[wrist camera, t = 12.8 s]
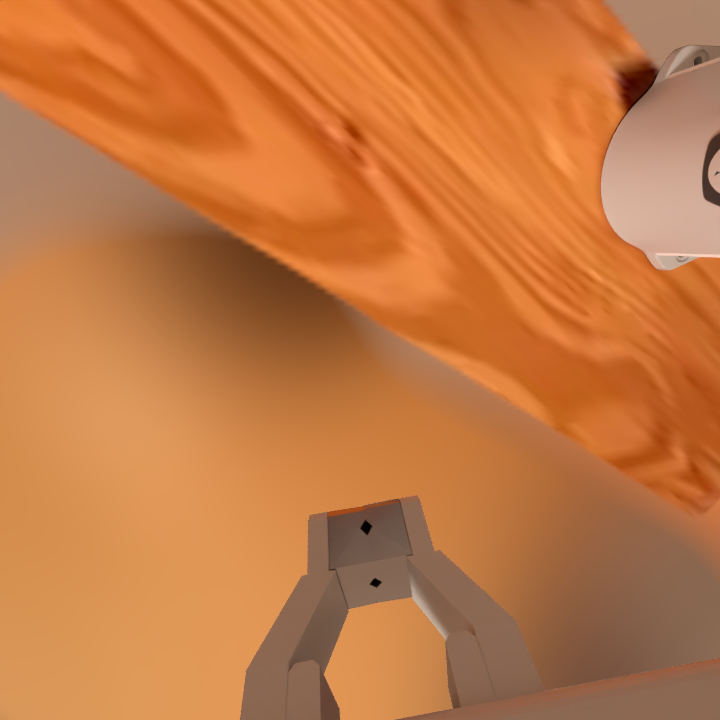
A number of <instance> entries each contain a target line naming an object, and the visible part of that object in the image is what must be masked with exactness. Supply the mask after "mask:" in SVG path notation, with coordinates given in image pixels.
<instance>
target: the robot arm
mask: <svg viewBox="0 0 720 720" xmlns="http://www.w3.org/2000/svg"><path fill="white" fill-rule="evenodd" d="M693 62H694V66H693ZM601 197H602V203H603V208H604V211H605V214H606V217H607V219H608V221H609V223H610V225H611V227H612V228H613V230H614V231H615V232H616V233H617V234H618V235H619V236H620V237H621V238H622V239H623V240H624V241H626V242H628V243H629V244H631V245H633V246H635V247H637V248H639V249H641V250H642V251H643V252H645V254H646V256H647V257H648V259H649V260H650V262H651V263H652V265H653V266H654V267H655V268H656V269H658V270H672V269H675V268H677V267H679V266H681V265H683V264H686V263H688V262H690V261H692V260H694V259H696V258H699V257H720V46H703V45H688V46H685V47H682V48H679V49H676V50H674V51H673V52H672V53H671V54H670V55H669V56H668V58H667V59H666V61H665V62H664V64H663V66H662V68H661V70H660V72H659V74H658V75H657V77H656V80H655V82H654V84H653V85H652V87H651V88H650V89H649V90H648V92H647V93H646V94H645V95H644V96H643V97H642V98H641V99H640V100H639V101H638V102H637V103H636V104H635V105H634V106H633V107H632V108H631V109H630V111H629V112H628V113H627V114H626V116H625V117H624V119H623V120H622V121H621V123H620V125H619V126H618V128H617V130H616V132H615V133H614V135H613V138H612V140H611V142H610V144H609V147H608V150H607V153H606V156H605V160H604V164H603V169H602V177H601ZM307 572H308V573H307V575H304V576H302V577H301V578H300V580H299V582H298V583H297V585H296V587H295V589H294V590H293V592H292V594H291V595H290V597H289V599H288V600H287V602H286V604H285V606H284V607H283V609H282V611H281V612H280V614H279V616H278V618H277V619H276V621H275V623H274V624H273V626H272V628H271V629H270V631H269V633H268V635H267V636H266V638H265V640H264V641H263V643H262V645H261V646H260V648H259V650H258V651H257V653H256V655H255V656H254V658H253V660H252V662H251V663H250V665H249V667H248V668H247V671H246V677H245V685H244V693H243V701H242V709H241V717H240V720H340V711H339V707H338V705H337V702H336V701H335V698H334V696H333V694H332V692H331V689H330V687H329V685H328V683H327V681H326V679H325V676H324V672H325V670H326V667H327V665H328V662H329V660H330V657H331V655H332V652H333V650H334V647H335V645H336V642H337V639H338V637H339V634H340V632H341V629H342V627H343V624H344V622H345V619H346V617H347V614H348V609H351V608H355V607H360V606H364V605H369V604H374V603H378V602H384V601H390V600H396V599H403V598H409V597H412V598H413V600H414V601H415V602H416V604H417V605H418V606H419V607H420V608H421V610H422V611H423V612H424V613H425V615H426V616H427V617H428V618H429V619H430V621H431V622H432V623H433V625H434V626H435V627H436V628H437V630H438V631H439V632H440V633H441V634H442V636H443V637H444V638H445V639H446V642H445V645H446V660H447V675H448V688H449V693H450V697H451V701H452V706H453V709H449V710H444V711H438V712H433V713H428V714H423V715H417V716H412V717H407V718H402V719H396V720H720V658H716V659H711V660H706V661H700V662H695V663H690V664H685V665H679V666H674V667H669V668H664V669H658V670H653V671H648V672H643V673H638V674H632V675H627V676H622V677H616V678H611V679H606V680H601V681H596V682H590V683H585V684H580V685H575V686H570V687H564V688H559V689H554V690H548V691H544V688H543V686H542V683H541V682H540V679H539V676H538V674H537V671H536V669H535V666H534V664H533V661H532V659H531V657H530V654H529V652H528V649H527V647H526V644H525V642H524V639H523V637H522V635H521V632H520V630H519V627H518V625H517V622H516V620H515V619H514V618H513V617H512V616H510V615H509V614H508V613H507V612H506V611H505V610H504V609H503V608H502V607H501V606H500V605H499V604H498V603H496V602H495V601H494V600H493V599H492V598H491V597H490V596H489V595H488V594H487V593H486V592H485V591H483V590H482V589H481V588H480V587H479V586H478V585H477V584H476V583H475V582H474V581H473V580H472V579H470V578H469V577H468V576H467V575H466V574H465V573H464V572H463V571H462V570H461V569H460V568H459V567H457V566H456V565H455V564H454V563H453V562H452V561H451V560H450V559H449V558H447V556H446V555H445V554H443V553H442V552H441V551H440V550H438V551H434V548H433V545H432V541H431V538H430V534H429V531H428V527H427V524H426V520H425V517H424V514H423V510H422V506H421V503H420V499H419V497H418V496H411V497H406V498H401V499H393V500H388V501H383V502H378V503H373V504H368V505H364V506H362V507H356V508H349V509H343V510H337V511H331V512H324V513H319V514H313V515H310V516H309V520H308V569H307Z"/></svg>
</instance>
